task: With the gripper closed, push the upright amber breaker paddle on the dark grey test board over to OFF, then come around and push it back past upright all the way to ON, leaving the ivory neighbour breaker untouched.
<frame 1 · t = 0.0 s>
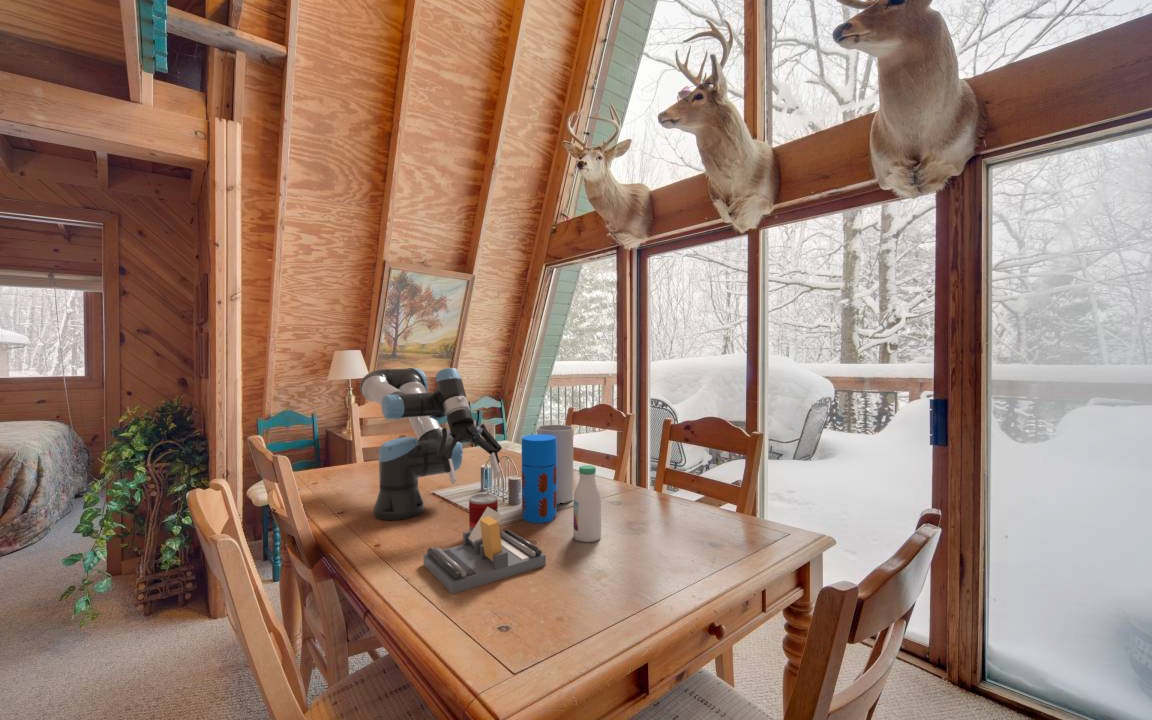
hand: (476, 478, 147), 15 cm above the table, tool tilted 35°, fingers open, 13 cm apart
cylinder vase: (555, 499, 177), on the table
canned food: (483, 536, 143), on the table
thermos: (539, 517, 159), on the table
tripped breaker: (491, 540, 120), point 8 cm above the table, hinge at 8.0°
neighbour breaker: (484, 528, 130), point 7 cm above the table, hinge at -38.0°
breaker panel: (484, 564, 125), on the table
milk bottle: (587, 538, 142), on the table
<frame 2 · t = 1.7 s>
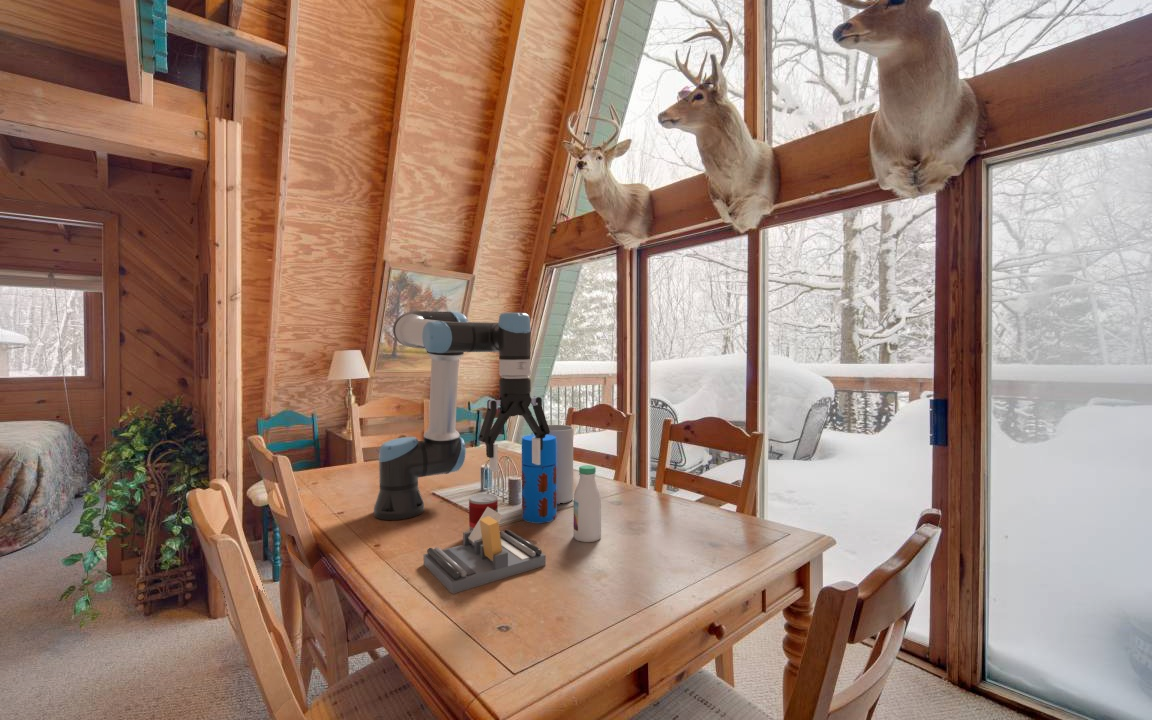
hand: (515, 467, 123), 24 cm above the table, tool pointing down, fingers open, 11 cm apart
nothing on the table moved.
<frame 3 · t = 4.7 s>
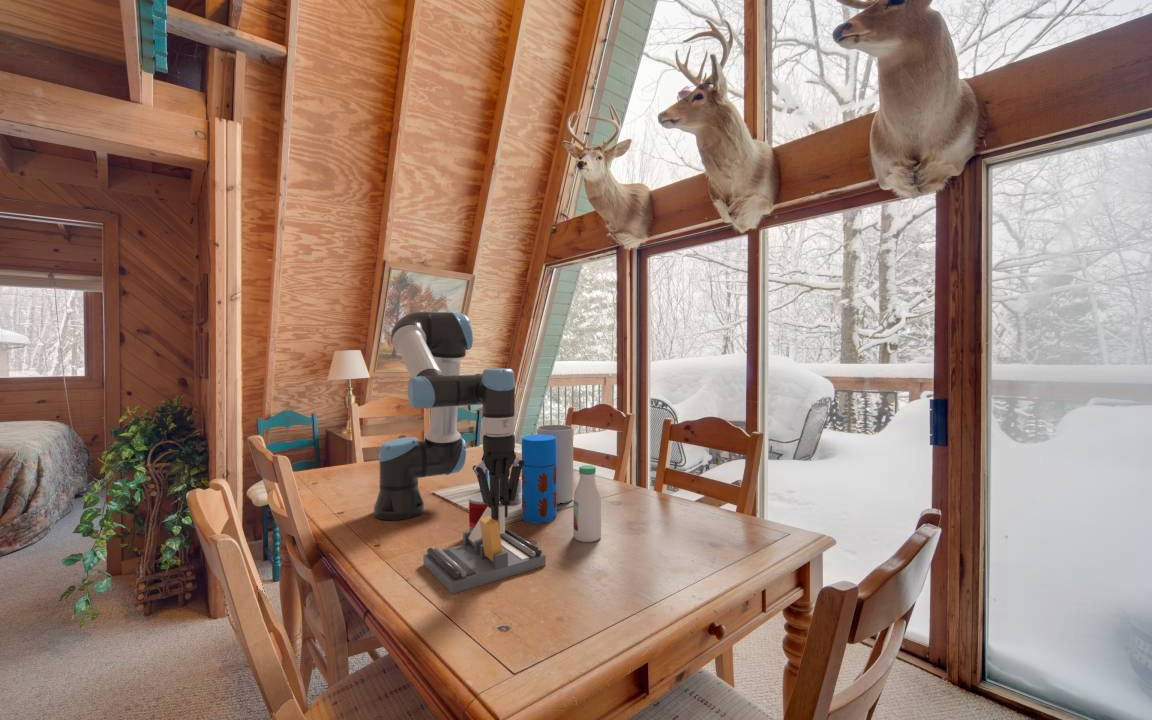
hand: (499, 531, 121), 9 cm above the table, tool pointing down, fingers closed
tripped breaker: (491, 540, 120), point 8 cm above the table, hinge at 8.1°, touching gripper
everything else where it was.
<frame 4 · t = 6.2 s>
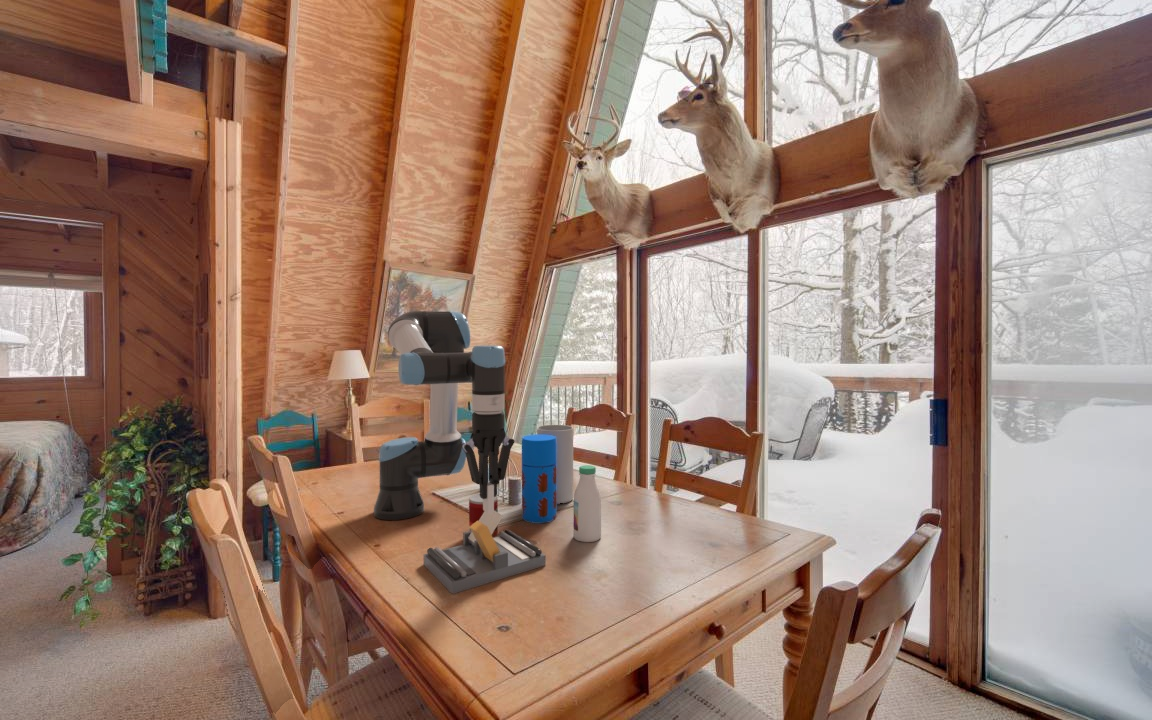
hand: (488, 510, 120), 15 cm above the table, tool pointing down, fingers closed
tripped breaker: (486, 543, 119), point 7 cm above the table, hinge at 26.3°
everything else where it was.
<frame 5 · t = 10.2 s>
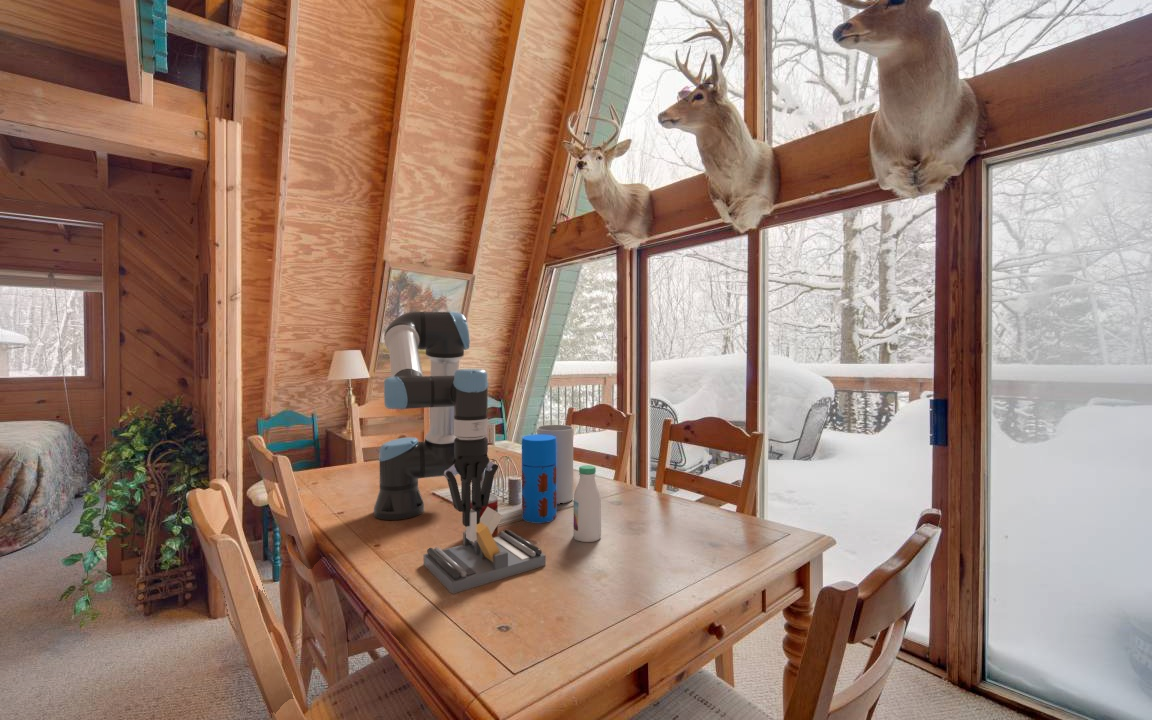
hand: (471, 538, 117), 9 cm above the table, tool pointing down, fingers closed
tripped breaker: (486, 543, 119), point 7 cm above the table, hinge at 26.1°, touching gripper
everything else where it was.
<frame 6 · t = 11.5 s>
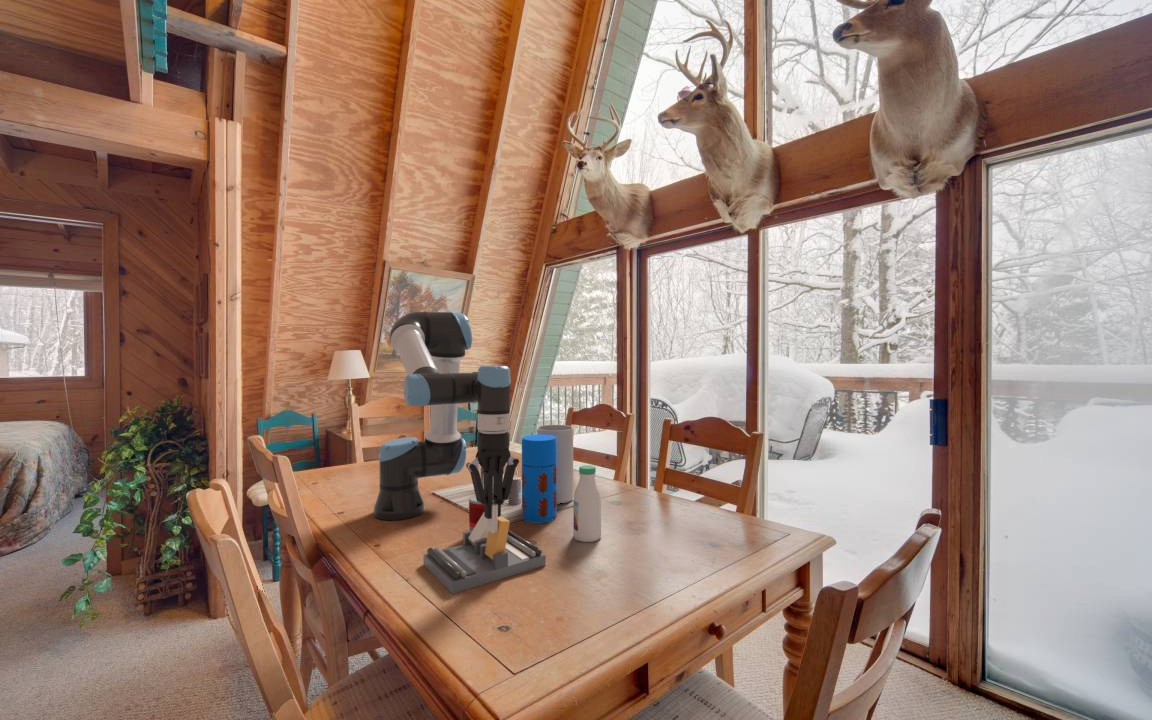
hand: (492, 531, 120), 10 cm above the table, tool pointing down, fingers closed
tripped breaker: (496, 539, 121), point 8 cm above the table, hinge at -11.7°, touching gripper
everything else where it was.
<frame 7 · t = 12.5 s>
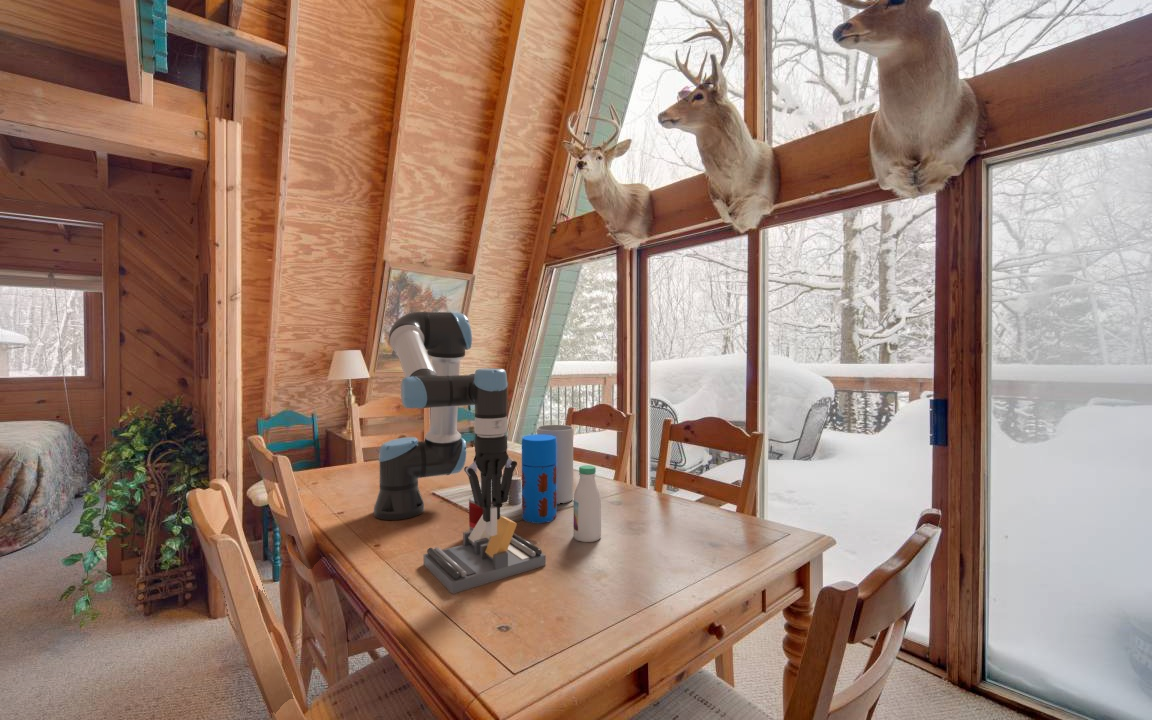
hand: (491, 533, 120), 9 cm above the table, tool pointing down, fingers closed
tripped breaker: (500, 539, 121), point 7 cm above the table, hinge at -25.6°
everything else where it was.
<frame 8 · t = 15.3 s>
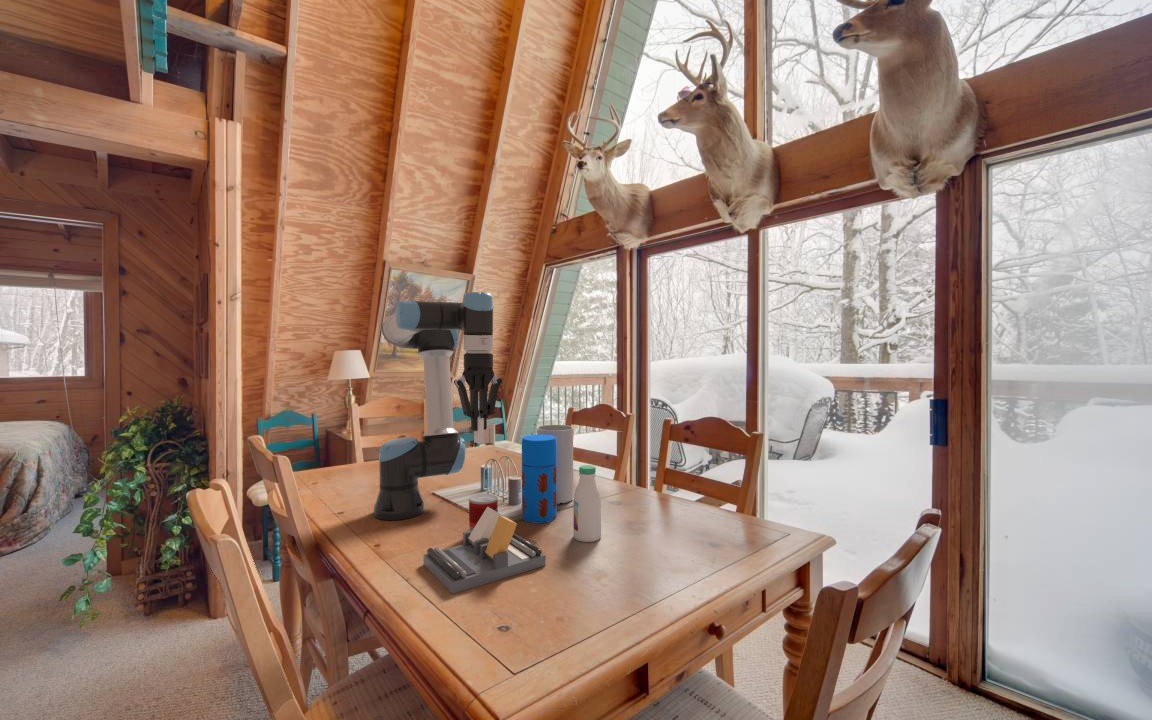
hand: (479, 442, 133), 28 cm above the table, tool pointing down, fingers closed
nothing on the table moved.
at the end: tripped breaker at -26° (first picture: +8°); neighbour breaker at -38° (first picture: -38°) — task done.
